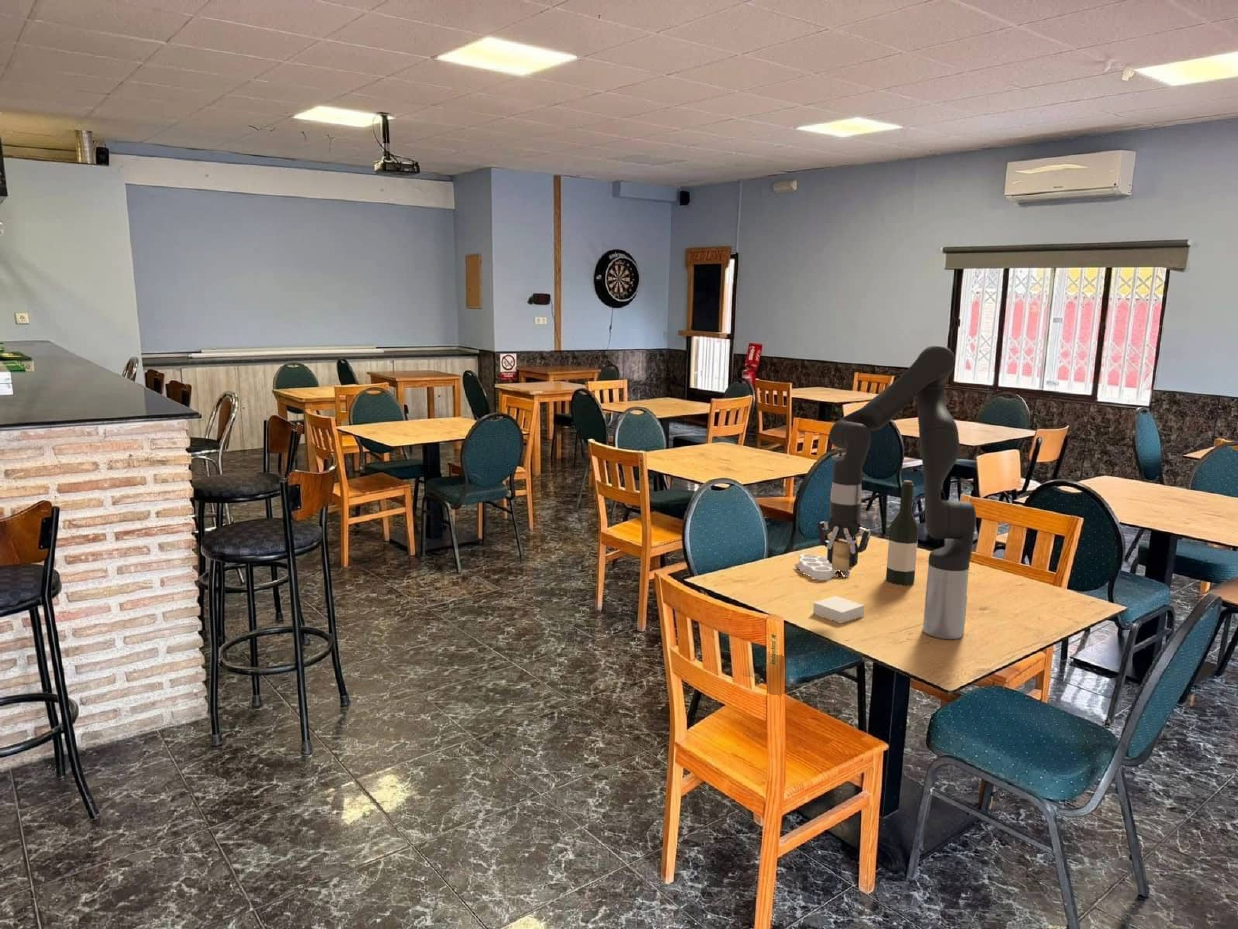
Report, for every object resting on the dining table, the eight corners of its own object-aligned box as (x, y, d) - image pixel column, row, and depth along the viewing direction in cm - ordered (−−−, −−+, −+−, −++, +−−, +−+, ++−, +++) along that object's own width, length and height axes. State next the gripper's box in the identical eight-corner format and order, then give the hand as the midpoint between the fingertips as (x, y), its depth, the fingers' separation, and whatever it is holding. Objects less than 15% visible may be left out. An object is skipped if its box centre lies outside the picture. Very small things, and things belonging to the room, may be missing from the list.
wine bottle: (919, 586, 240) (927, 484, 235) (890, 585, 240) (897, 483, 235) (909, 576, 248) (917, 478, 243) (881, 576, 248) (889, 478, 243)
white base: (834, 606, 222) (835, 595, 222) (863, 616, 215) (864, 605, 215) (813, 613, 217) (813, 602, 216) (841, 623, 210) (842, 612, 209)
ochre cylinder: (840, 563, 217) (841, 537, 216) (855, 568, 213) (857, 542, 212) (827, 567, 214) (829, 540, 213) (843, 572, 210) (845, 545, 209)
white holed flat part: (853, 582, 244) (803, 582, 243) (834, 563, 262) (788, 564, 261) (853, 571, 244) (804, 571, 243) (834, 553, 261) (788, 553, 261)
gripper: (879, 501, 209) (874, 566, 212) (825, 493, 218) (821, 556, 221) (867, 507, 203) (863, 573, 206) (813, 498, 212) (809, 562, 215)
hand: (841, 564), depth 214 cm, fingers closed on ochre cylinder, 5 cm apart
